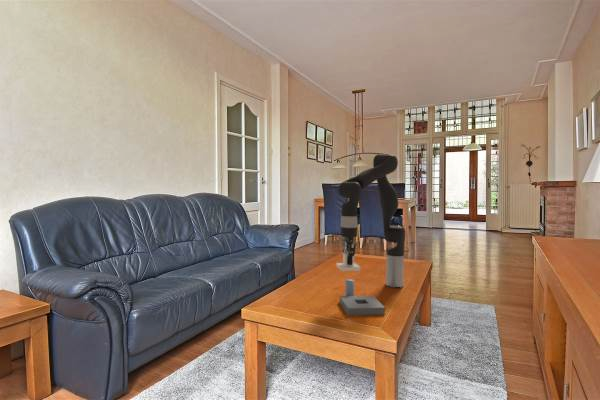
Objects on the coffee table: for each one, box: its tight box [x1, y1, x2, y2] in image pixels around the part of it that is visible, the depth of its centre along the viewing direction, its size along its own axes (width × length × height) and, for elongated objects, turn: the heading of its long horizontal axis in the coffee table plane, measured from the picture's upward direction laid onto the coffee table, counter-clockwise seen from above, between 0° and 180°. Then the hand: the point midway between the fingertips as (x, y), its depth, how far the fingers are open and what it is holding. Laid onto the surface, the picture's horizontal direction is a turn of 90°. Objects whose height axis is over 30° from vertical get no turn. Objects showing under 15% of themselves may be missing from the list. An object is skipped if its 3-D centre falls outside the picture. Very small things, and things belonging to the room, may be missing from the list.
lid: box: [335, 252, 362, 272], centre depth 150 cm, size 9×9×6 cm
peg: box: [344, 278, 355, 296], centre depth 160 cm, size 4×4×9 cm
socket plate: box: [339, 295, 386, 316], centre depth 148 cm, size 16×16×3 cm
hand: (348, 263), depth 150 cm, fingers closed on lid, 4 cm apart
